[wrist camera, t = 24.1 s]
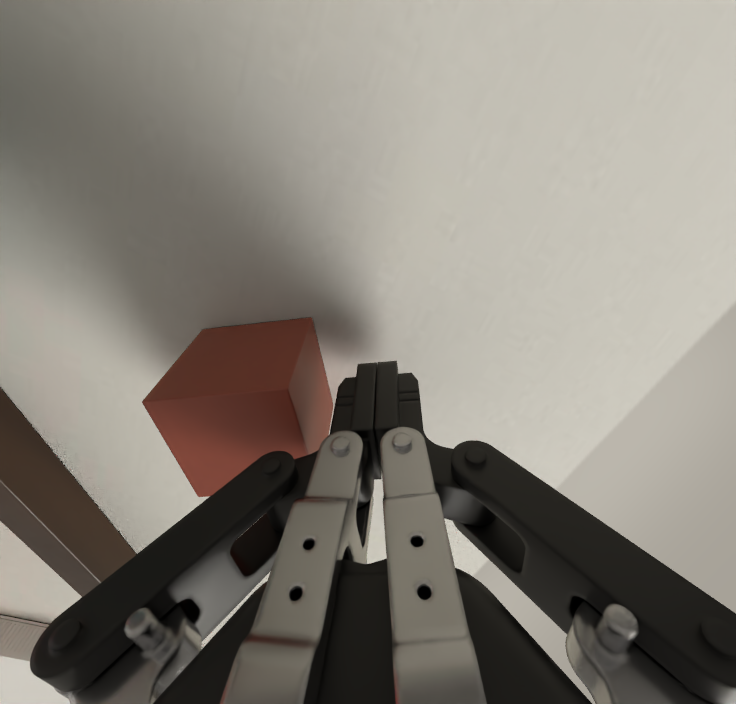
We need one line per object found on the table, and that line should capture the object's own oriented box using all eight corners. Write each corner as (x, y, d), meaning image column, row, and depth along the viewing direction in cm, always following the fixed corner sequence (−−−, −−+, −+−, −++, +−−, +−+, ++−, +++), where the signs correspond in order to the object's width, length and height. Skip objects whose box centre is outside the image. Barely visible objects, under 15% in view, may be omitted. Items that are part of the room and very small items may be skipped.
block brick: (312, 316, 14) (287, 388, 11) (333, 405, 17) (319, 489, 13) (202, 328, 15) (140, 402, 11) (238, 413, 17) (197, 497, 13)
